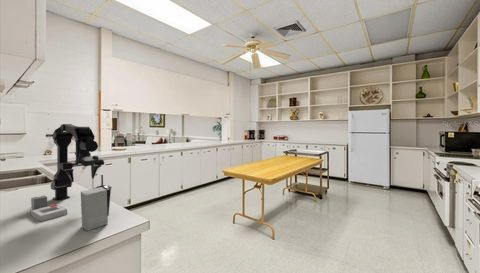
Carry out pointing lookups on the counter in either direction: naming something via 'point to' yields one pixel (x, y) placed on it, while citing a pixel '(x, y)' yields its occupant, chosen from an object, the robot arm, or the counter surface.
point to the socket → (48, 212)
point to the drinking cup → (107, 193)
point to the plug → (38, 202)
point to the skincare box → (94, 208)
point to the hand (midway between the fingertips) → (83, 180)
